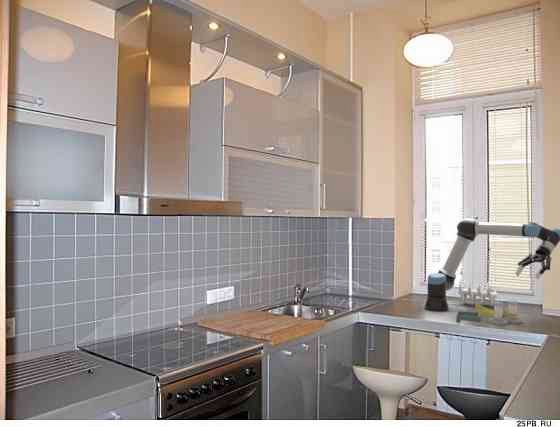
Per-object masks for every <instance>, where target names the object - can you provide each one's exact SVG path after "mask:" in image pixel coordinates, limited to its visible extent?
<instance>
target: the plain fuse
mask: <svg viewBox="0 0 560 427" xmlns="http://www.w3.org/2000/svg"><path fill="white" fill-rule="evenodd" d="M503 307H504V302H503V301H496V300H494V304H493V308H494V309H493V310H494V317H493V318H494V320H496V321H503V318H504V317H503V310H504V308H503Z"/></svg>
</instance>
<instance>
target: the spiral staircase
mask: <svg viewBox="0 0 560 427" xmlns="http://www.w3.org/2000/svg"><path fill="white" fill-rule="evenodd" d="M471 284H472V283H471V280H470V279H469V280H468V282H467V286H466V288H463V287H462V280H461V278H460V279H459V281H458V290H457V291H458V292H457V293H458V295H459V296H460V297H461V303H462V305H465V303H466V301H467V298H468V297H469V299H470V301H471V302H470V303H471V306H472V307H473V306H475V303H476V299H477V298H476V297H479V300H480V302H481V306H483V307H484V304H485V302H486V298H488V299H489V301H490V304H491V305H490V307H491V308H492V307H494V302H495V301H496V299H498V292H497V289H496V288H495V289H494V290H493V291H494V292H493V291H491V288H490V287H491V284H490V282H489V280H487V282H486V288H485V289H484V291H483V290H482V287H481V282H480V280H479V279H478V282H477V285H476V288H475V289H472V288H471V287H472V285H471Z"/></svg>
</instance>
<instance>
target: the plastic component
mask: <svg viewBox="0 0 560 427" xmlns="http://www.w3.org/2000/svg"><path fill="white" fill-rule="evenodd" d="M474 307H475V310H476V311H477V313H479V315H484V316H488V317H493V318H494V309H492V308H488V307H485V306H484V305H483V306H482V304H481V305H480V304H479V303H478V302H475V303H474ZM504 317H508V312H507V311H506V310H504V309H503V318H504Z"/></svg>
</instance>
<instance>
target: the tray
mask: <svg viewBox="0 0 560 427" xmlns="http://www.w3.org/2000/svg"><path fill="white" fill-rule="evenodd" d="M461 320H462V321H463V320H464V321H473V322H480V314H479V313H478V312H475V311H474V312H473V311H465V310H457V311H456V322H459V323H461Z"/></svg>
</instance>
